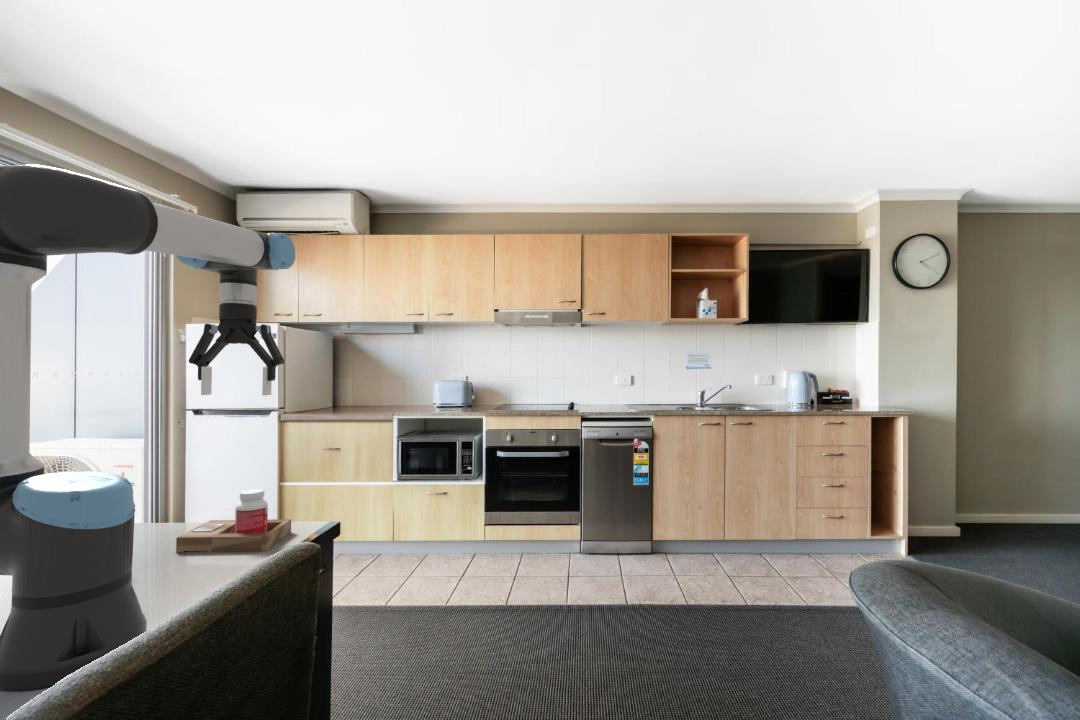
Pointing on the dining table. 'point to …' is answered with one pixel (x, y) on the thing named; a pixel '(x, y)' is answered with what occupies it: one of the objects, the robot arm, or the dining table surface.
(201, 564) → the dining table surface
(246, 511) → the pill bottle
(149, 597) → the dining table surface
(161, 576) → the dining table surface
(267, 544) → the socket block
